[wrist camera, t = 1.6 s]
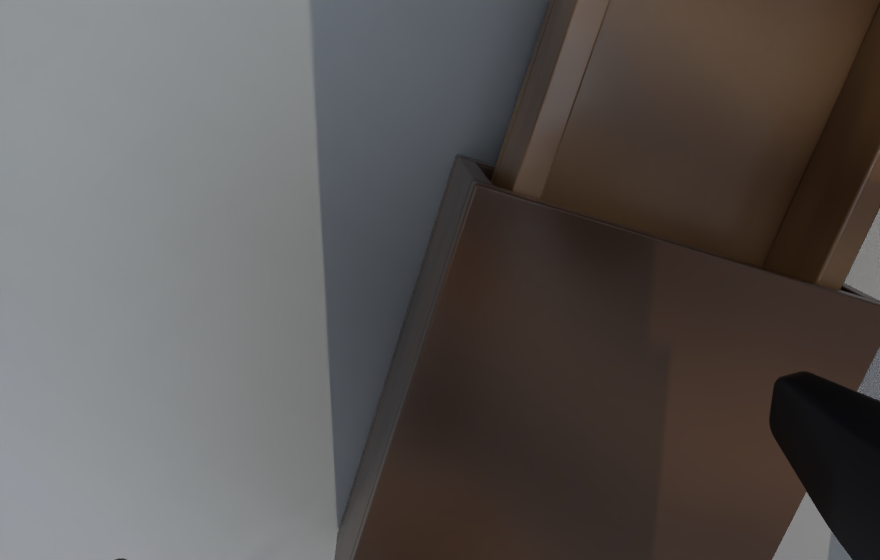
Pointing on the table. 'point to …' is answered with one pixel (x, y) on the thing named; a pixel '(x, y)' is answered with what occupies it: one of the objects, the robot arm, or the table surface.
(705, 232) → the drawer
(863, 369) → the cabinet
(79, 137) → the table surface
